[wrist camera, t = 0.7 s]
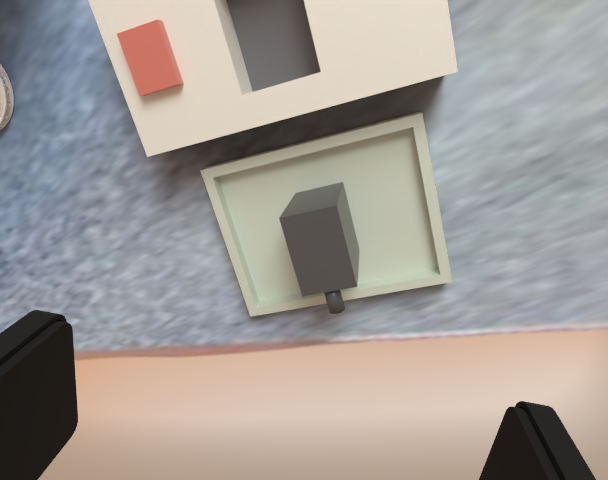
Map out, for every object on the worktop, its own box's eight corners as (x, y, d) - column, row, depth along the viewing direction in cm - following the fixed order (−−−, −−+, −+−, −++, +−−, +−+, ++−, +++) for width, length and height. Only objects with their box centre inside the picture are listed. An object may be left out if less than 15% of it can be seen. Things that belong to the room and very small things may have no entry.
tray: (419, 111, 33) (422, 113, 31) (448, 272, 37) (452, 282, 35) (208, 166, 37) (200, 170, 35) (255, 306, 41) (250, 316, 39)
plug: (343, 181, 35) (336, 205, 28) (364, 271, 37) (363, 311, 31) (295, 193, 36) (279, 218, 29) (319, 279, 38) (309, 320, 32)
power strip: (414, -120, 28) (425, -167, 23) (444, 72, 32) (460, 71, 26) (120, -9, 33) (71, -27, 27) (175, 147, 36) (142, 158, 31)
